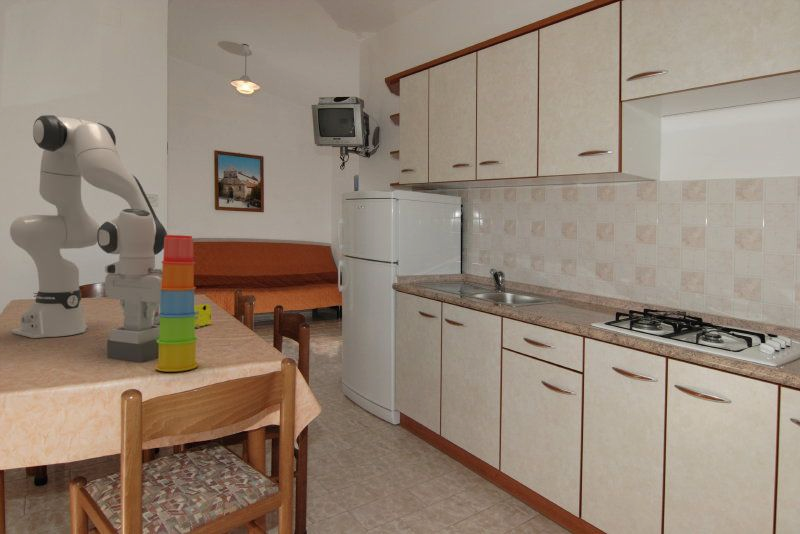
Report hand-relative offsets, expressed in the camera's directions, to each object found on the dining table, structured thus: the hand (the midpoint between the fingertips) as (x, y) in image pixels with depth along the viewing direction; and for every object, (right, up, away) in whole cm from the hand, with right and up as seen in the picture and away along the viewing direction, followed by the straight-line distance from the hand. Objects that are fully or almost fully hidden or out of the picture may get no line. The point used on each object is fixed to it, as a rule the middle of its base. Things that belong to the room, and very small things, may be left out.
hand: (138, 316), depth 141 cm
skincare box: (0, -5, 0) cm, 5 cm away
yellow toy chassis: (-2, -8, +40) cm, 40 cm away
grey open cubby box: (0, -11, +1) cm, 11 cm away
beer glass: (0, -10, +13) cm, 17 cm away
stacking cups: (+15, -13, -10) cm, 22 cm away
